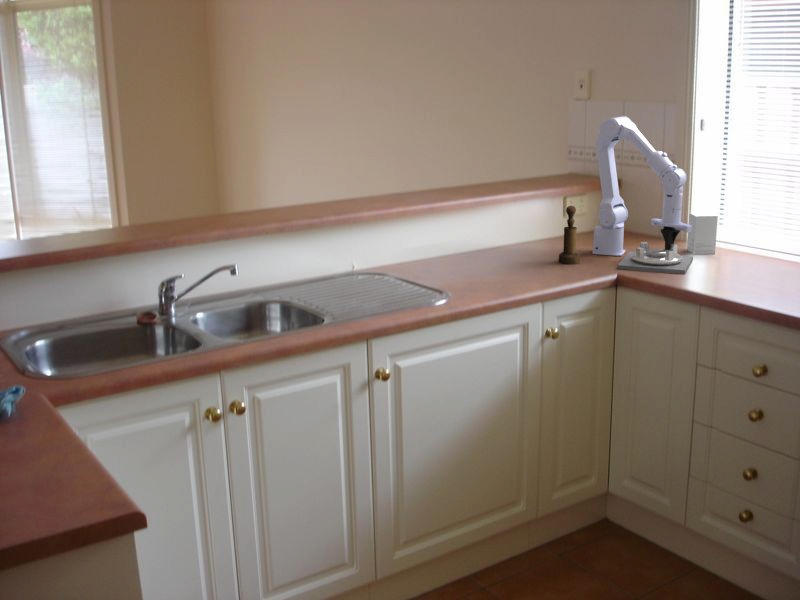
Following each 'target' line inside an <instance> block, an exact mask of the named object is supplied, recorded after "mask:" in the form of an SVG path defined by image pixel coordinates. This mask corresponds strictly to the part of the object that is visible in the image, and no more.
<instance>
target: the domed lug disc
mask: <svg viewBox="0 0 800 600" xmlns="http://www.w3.org/2000/svg"><path fill="white" fill-rule="evenodd" d="M649 244H650V243H649V242H647V241H642V242H640V245H639V247H635V251H634V252H635V253H633V254H632V260H633V261H635V262H638V263H642V264H649V265H673V264H677V263H680V262H681V258H682V257H681V255H682V254H679V253H678V246H679V245H678V244H675V243H674V244H670V245H669V250H665V248H664V249H662V248H649Z"/></svg>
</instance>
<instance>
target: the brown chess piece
mask: <svg viewBox="0 0 800 600" xmlns="http://www.w3.org/2000/svg"><path fill="white" fill-rule="evenodd" d="M565 212H566V214H567V216H568V219H566V222H567V223H566V224H567V226H564V228H563V251H562V252H561V253H559V254H558V263H560V264H563V265H564V264H565V265H577V264H579V263H581V254H579V252H577V232H578V230H577V229H578V228H577V227H576V226H574V224H575V219H574V215H576V212H577V208H576V207H575V205H568V206H567V207H566V209H565Z"/></svg>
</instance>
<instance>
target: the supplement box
mask: <svg viewBox="0 0 800 600" xmlns="http://www.w3.org/2000/svg"><path fill="white" fill-rule="evenodd" d="M688 215H689V217H688V225H691V226H692V230H691V232H687V245H686V246H687V247H686V249H687V251H688V252H690V253H692V255H697V254H698V255H714V254H716V243H717V233H718V232H717V231H718V221H719V219H718V217H719V216H718V215H716V214H715V213H713V212H711V211H709V212H708V211H704V212H702V211H701V212H689V214H688Z"/></svg>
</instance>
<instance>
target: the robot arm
mask: <svg viewBox="0 0 800 600" xmlns="http://www.w3.org/2000/svg"><path fill="white" fill-rule="evenodd" d="M598 129H599V131H598V135H597V138H596V141H595V150H596V158H597V164H598V165H597V166H598V173H599V180H600V188H601V195H602V199H601V201H600V203H599V205H598V207H599V210H598V211H599V212H598V215H597V219H598V223H599V225H595V227H594V229H593V230H594V231H593V239H592V242H593V243H592V254H593V255H600V256H601V255H603V256H613V257H614V256H615V257H616V256H617V257H622V256H623V255H624V254H625V253H626V251H627V250H626V249H624V235H625V234H624V231H625V222H626V221H627V219H628V218H629V211H628V209H627V207H626V205H625V201H624V199H623V198H622V197H621V195H620V189H619V180H618V174H617V165H616V158H615V151H614V150H615V149H614V147H615V146H616V145H617V144H618V142H619V141H621V140H623V141H628V142H630V143H631V145H633V146H634V147H635V148H636V149H637V150H638V151H639V152H640V153H642V155H644V157H645V158H646V164H647V165H648V167H649V168H650V169H651V170H652V171H653V173H655V174H656V175H657V176H658V177H659V178H660V182H661V185H662V186H663V199H662V200H663V202H662V213H661V214H662V216H661V218H655V217H654V218H651V219H650V225H651V226H658V227H662V228H661V229H660V233H661V235H662V237H663V240H664V250H669V245H670V244H675V241H676V239H677V237H678V235H679V234H680V232H685V233H688V232H691V230H692V226H691V225H689V223H688V224H687V223H684V222H682V211H683V210H682V209H683V197H684V186H685V185H686V183H687V180H688V175H687V173H686V172H685V170H684V169H682V168H680V167H678V166H677V164H674V163H673V162H672V161H671V160H670V159H669V157H668V154H667V152H663V151H661V150H656V149H655V148H654V147H653V145H652V144H650V142H649V141H648V140H647V138H646V137H645V136H644V135H643V133H641V131H640V130H639V129H638V126H637V125H636V124H635V123H634V122H633V121H632V120H631V118H629V117H628V116H625V115H621V116H616V117H608V118H606V119H605V120H604V121H602V123H600V125H599V126H598Z"/></svg>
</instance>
